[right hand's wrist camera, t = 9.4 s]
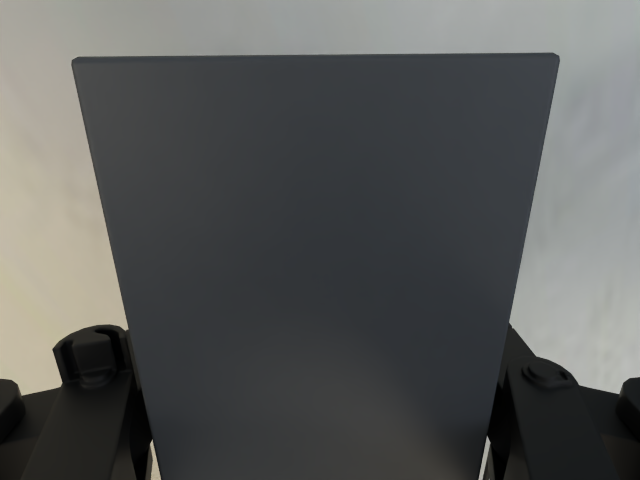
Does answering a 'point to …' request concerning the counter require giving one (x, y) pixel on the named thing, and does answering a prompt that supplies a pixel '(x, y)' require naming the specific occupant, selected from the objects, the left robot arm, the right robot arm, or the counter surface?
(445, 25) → the counter surface
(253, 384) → the bar
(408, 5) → the counter surface
